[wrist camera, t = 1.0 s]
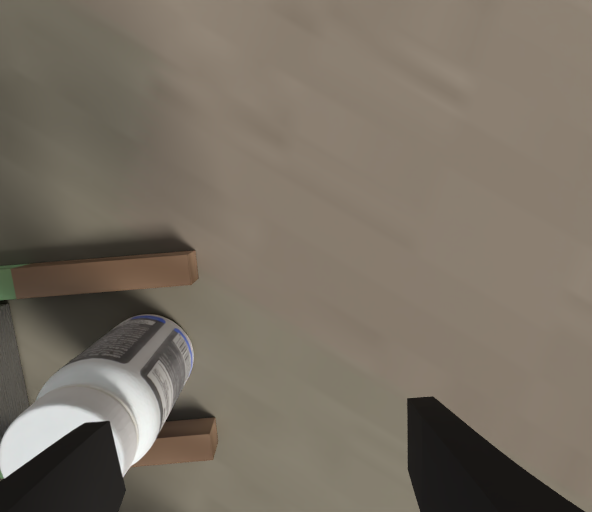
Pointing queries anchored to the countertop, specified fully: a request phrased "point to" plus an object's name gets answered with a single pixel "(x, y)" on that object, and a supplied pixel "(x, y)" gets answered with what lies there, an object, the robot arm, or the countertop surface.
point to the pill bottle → (108, 392)
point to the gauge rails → (115, 277)
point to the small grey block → (10, 374)
